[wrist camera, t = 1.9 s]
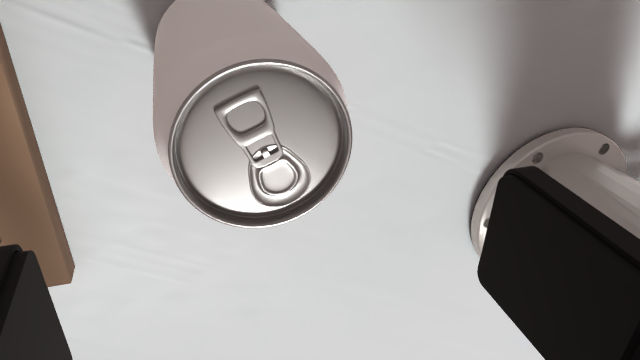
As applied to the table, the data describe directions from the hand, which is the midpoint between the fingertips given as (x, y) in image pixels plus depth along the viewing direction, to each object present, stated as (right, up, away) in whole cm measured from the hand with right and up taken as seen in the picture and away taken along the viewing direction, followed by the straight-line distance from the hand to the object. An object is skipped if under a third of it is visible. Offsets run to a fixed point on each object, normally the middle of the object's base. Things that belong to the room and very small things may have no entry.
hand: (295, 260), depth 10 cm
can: (-5, +8, +15) cm, 18 cm away
